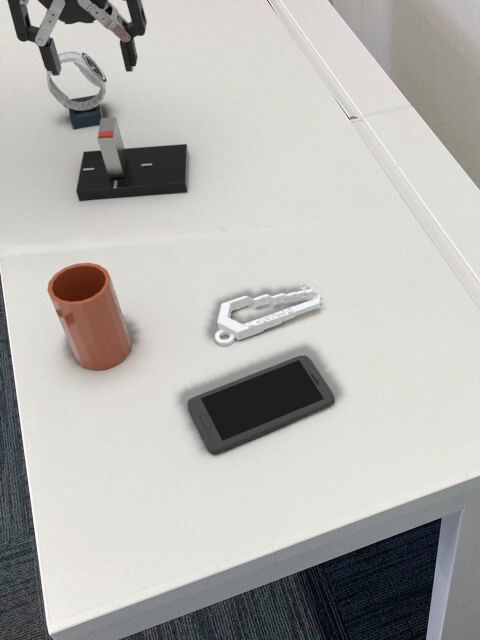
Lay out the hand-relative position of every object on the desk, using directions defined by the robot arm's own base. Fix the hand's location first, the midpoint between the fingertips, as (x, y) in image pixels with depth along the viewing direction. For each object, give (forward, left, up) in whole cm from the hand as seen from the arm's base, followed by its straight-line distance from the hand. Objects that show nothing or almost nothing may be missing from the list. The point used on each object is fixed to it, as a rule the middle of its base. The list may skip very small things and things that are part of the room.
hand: (93, 70), depth 92 cm
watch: (-6, +17, -17) cm, 25 cm away
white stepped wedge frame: (+18, -26, -17) cm, 36 cm away
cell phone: (+17, -39, -17) cm, 46 cm away
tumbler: (0, -29, -17) cm, 34 cm away
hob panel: (+2, +1, -17) cm, 17 cm away
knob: (0, +1, -14) cm, 14 cm away
